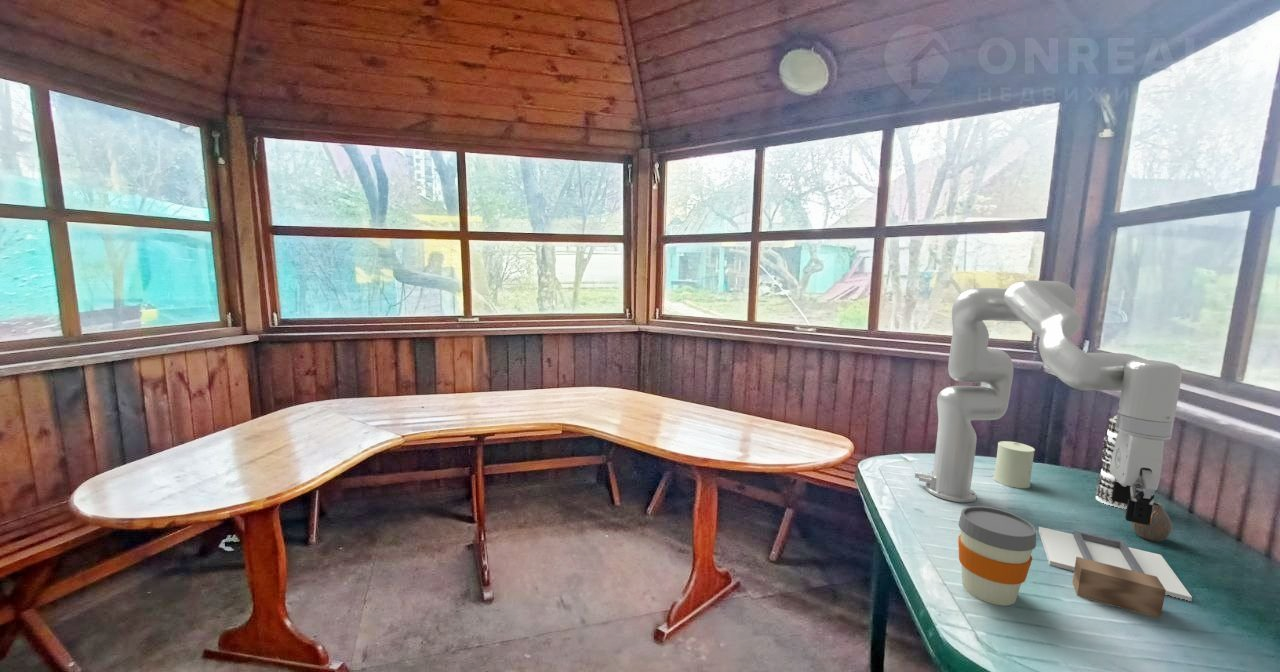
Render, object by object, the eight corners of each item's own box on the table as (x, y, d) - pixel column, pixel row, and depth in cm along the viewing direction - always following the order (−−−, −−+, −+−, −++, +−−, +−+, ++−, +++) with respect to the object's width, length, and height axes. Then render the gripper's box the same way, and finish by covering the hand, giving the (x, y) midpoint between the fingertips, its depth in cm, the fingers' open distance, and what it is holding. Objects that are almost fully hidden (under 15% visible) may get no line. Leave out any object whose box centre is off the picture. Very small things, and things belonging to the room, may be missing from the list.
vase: (1177, 546, 120) (1183, 512, 119) (1143, 542, 122) (1149, 508, 121) (1154, 532, 127) (1160, 499, 126) (1122, 528, 128) (1128, 495, 127)
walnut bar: (1077, 596, 101) (1081, 568, 100) (1072, 583, 105) (1076, 556, 104) (1160, 619, 94) (1165, 590, 94) (1151, 605, 99) (1156, 576, 98)
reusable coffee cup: (956, 564, 110) (964, 499, 108) (1028, 589, 102) (1038, 519, 100) (946, 592, 100) (955, 521, 98) (1025, 621, 93) (1037, 545, 91)
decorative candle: (1147, 511, 139) (1163, 423, 135) (1113, 509, 139) (1128, 421, 135) (1117, 496, 148) (1131, 413, 144) (1085, 495, 148) (1098, 412, 144)
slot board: (1049, 564, 111) (1051, 554, 111) (1038, 530, 126) (1039, 520, 126) (1191, 601, 100) (1193, 590, 99) (1160, 558, 115) (1161, 548, 114)
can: (1028, 480, 157) (1033, 443, 155) (1031, 491, 149) (1037, 452, 148) (992, 473, 162) (997, 437, 160) (994, 483, 154) (999, 445, 153)
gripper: (1105, 412, 104) (1093, 491, 106) (1129, 434, 90) (1115, 525, 92) (1155, 418, 100) (1141, 500, 103) (1189, 442, 86) (1172, 537, 88)
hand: (1129, 512), depth 97 cm, fingers open, 9 cm apart
